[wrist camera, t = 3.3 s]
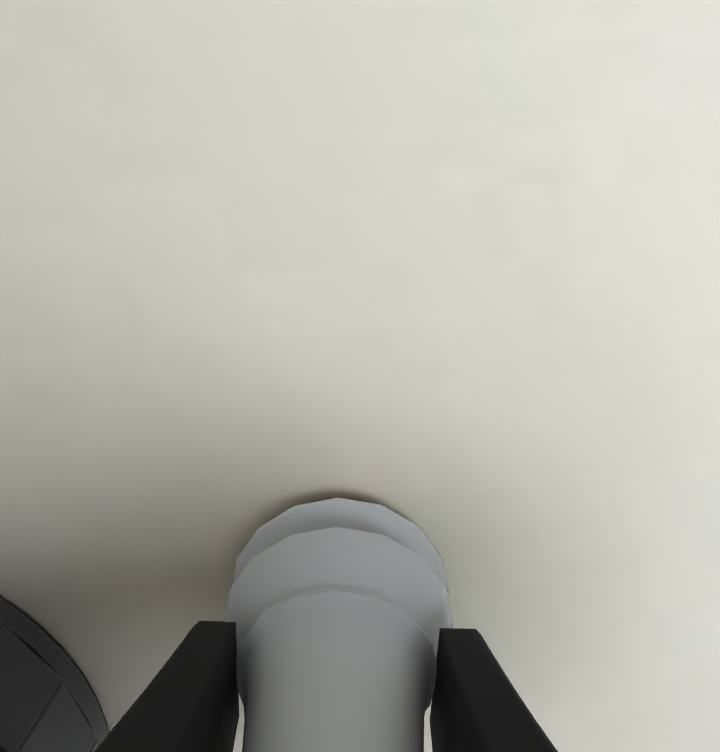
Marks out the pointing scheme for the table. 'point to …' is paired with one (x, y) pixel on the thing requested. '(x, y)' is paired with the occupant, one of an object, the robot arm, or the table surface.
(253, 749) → the rook chess piece
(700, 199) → the table surface
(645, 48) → the table surface
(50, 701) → the pan
